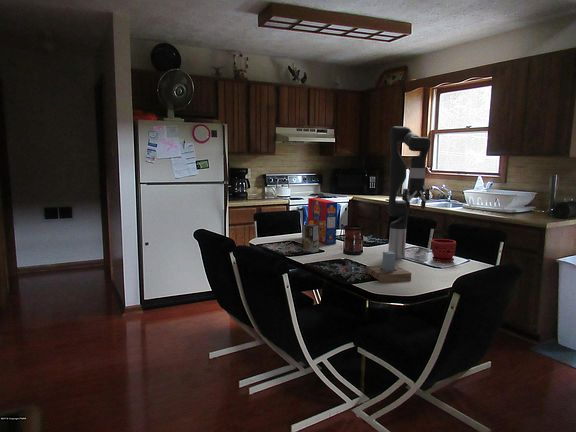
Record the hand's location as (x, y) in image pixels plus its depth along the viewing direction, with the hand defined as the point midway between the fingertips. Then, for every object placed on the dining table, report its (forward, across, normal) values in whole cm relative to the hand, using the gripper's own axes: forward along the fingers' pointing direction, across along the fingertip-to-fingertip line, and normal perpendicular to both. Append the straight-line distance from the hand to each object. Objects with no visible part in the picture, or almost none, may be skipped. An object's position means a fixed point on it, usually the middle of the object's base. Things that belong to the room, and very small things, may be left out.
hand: (415, 208), depth 213 cm
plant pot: (+32, -27, -12) cm, 44 cm away
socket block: (+32, +18, +8) cm, 38 cm away
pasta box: (+32, +22, -79) cm, 88 cm away
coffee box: (+32, +39, -51) cm, 72 cm away
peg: (+32, +18, +8) cm, 38 cm away
